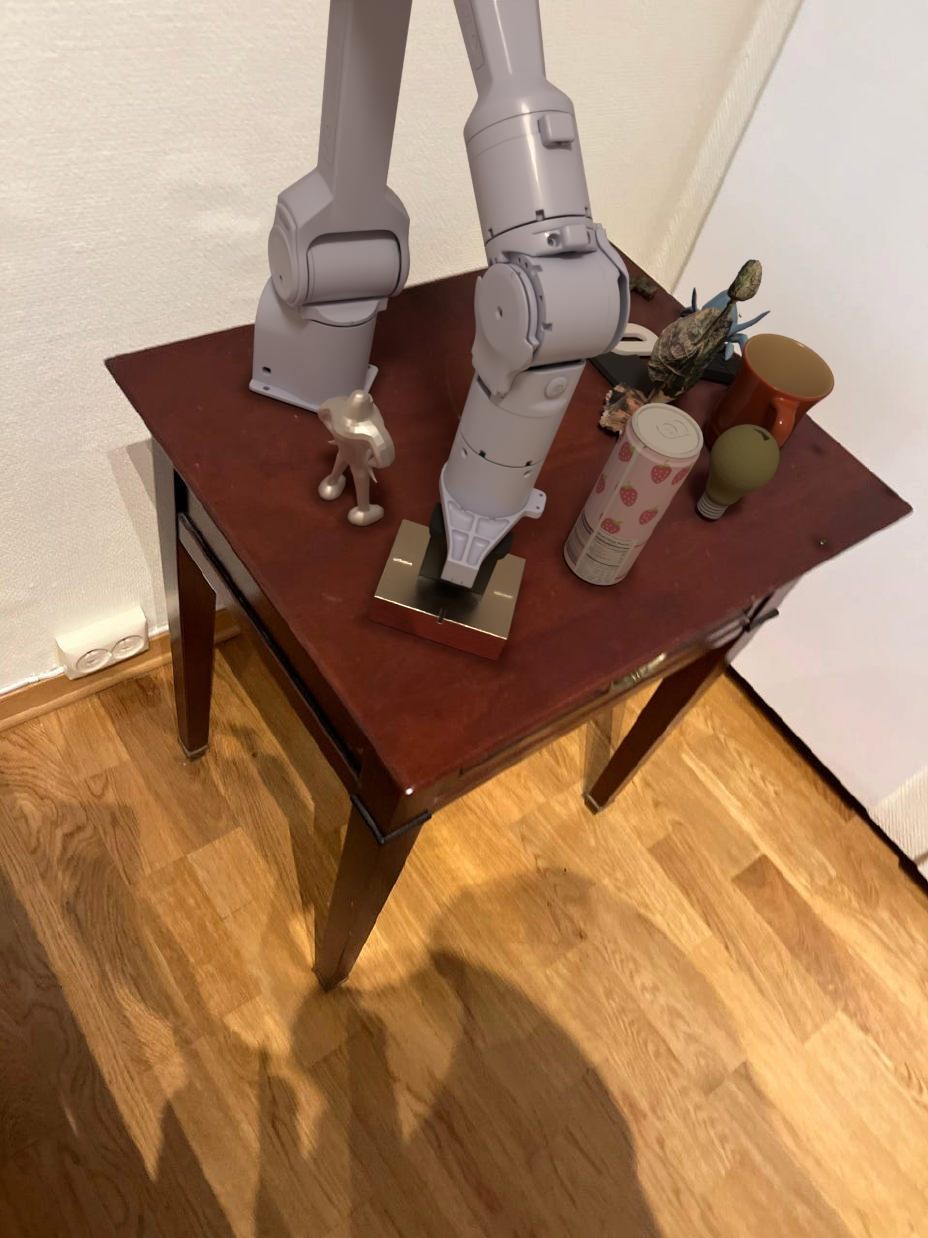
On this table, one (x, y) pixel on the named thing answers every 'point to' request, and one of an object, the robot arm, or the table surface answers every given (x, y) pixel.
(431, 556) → the knob
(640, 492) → the beverage can
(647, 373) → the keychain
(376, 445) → the figurine
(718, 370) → the figurine
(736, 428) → the light bulb
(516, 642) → the table surface
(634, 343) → the chain link
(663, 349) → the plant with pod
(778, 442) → the mug
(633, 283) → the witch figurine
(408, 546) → the panel
